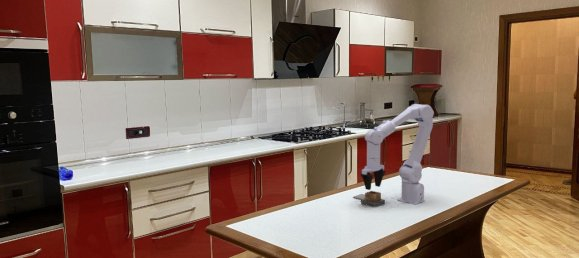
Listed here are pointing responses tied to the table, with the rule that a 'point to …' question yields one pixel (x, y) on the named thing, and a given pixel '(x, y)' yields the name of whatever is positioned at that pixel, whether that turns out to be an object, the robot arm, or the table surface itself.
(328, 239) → the table surface
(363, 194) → the mat
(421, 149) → the robot arm
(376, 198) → the brown wooden box
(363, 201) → the vise block
